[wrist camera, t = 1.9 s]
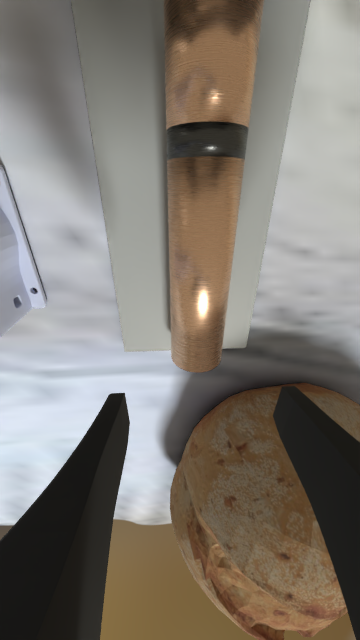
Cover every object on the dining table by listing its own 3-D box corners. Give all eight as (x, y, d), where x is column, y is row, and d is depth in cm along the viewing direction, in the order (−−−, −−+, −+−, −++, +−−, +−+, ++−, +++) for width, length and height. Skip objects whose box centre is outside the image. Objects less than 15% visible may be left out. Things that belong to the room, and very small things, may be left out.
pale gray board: (244, 343, 21) (246, 347, 21) (125, 347, 21) (124, 351, 20) (387, -457, 7) (405, -510, 6) (-2, -512, 6) (-18, -576, 6)
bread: (277, 499, 39) (332, 654, 26) (145, 483, 34) (133, 667, 21) (399, 398, 27) (615, 592, 14) (225, 348, 22) (312, 586, 9)
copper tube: (207, 336, 21) (230, 364, 17) (164, 346, 19) (182, 378, 16) (228, 43, 12) (287, -13, 8) (152, 25, 10) (186, -48, 7)
